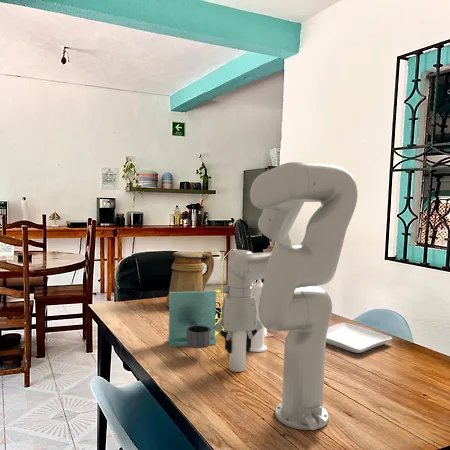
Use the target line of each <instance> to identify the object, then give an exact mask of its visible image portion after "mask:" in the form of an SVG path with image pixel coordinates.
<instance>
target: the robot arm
mask: <svg viewBox="0 0 450 450" xmlns="http://www.w3.org/2000/svg"><path fill="white" fill-rule="evenodd" d="M249 198H250V201H251V204H252V205H253V206H254V207H256V209H260V210H262V212H261V215H260V216H259V219H258V221H257V227H258V229H259V231H260V232H261V234H263V236H265V237H266V238H269V239H270V240H272V241H273V242H275V244H274V246H273V248H272V250H271V251H270V252H269V251H268V252H252V251H250V250H246V249H232V250H230V251H229V253H228V254H227V283H226V284H227V285H226V287H223V288H221V289H222V290H221V291H222V293H223V294H225V295H224V298H223V303H222V310H221V318H220V319H219V321H218V322H217V323H216V324H215V327H214V329H215V332H218V334H220V335H221V336H222V337H223V338H224V350H225V351H226V352H227V353H228V355H229V354H230V353H231V345H232V341H231V340H230V337H231V334H232V332H235V331H247V344H246V353H250V352H251V351H250V349H251V339H252V338H253V336H254V335H255V334H256V333H257V332H258V331H259V330H260V329H262V327H263V326H264V329H266V330H268V331H270V332H274V333H278V332H286V331H288V332H287V334H286V337H285V340H284V349H283V351H284V353H283V354H284V355H283V371H282V375H283V376H282V395H281V396H282V397H281V402H280V403H278V404H277V405H276V407H275V410H274V415H275V418H276V419H277V420H278V421H279V422H280V423H281V424H283V425H285V426H287V427H289V428H293V429H296V430H303V431H316V430H318V429H321V428H323V427H325V426H326V425H327V424H328V423H329V412H328V411H327V409H326V408H325V407H323V404H324V403H323V402H324V401H323V400H324V384H325V383H324V382H325V381H324V380H325V367H326V366H325V364H326V363H325V361H326V347H327V346H326V345H327V343H326V337H327V331H328V327H330V323H331V318H332V314H333V313H332V312H333V301H332V299H331V296H330V295H329V293H328V292H327V291H326V290H325V289H324V288H321V287H320V286H323V285H327V284H328V283H330V282H331V281H332V280H333V279H334V277H335V274H336V271H337V268H338V264H339V260H340V256H341V252H342V249H343V245H344V241H345V237H346V233H347V229H348V227H349V225H350V222H351V220H352V218H353V215H354V212H355V209H356V207H357V202H358V187H357V183H356V181H355V177H354V176H353V175H352V174H351V173H350V172H349V170H346V168H344V167H341V166H338V165H334V164H329V163H328V164H327V163H311V162H297V161H295V162H292V161H291V162H290V161H289V162H285V163H282V164H280V165H278V166H275V167H274V168H270V169H267V170H266V171H265V172H262V173H260V174H259V175H257V176H256V178H255V179H254V180H253V182H252V184H251V186H250V189H249ZM306 202H307V203H320V206H319V207H318V208H317V209H316V210H315V212H314V213H313V214H312V215H311V217H310V218H309V220H308V222H307V225H306V229H305V233H304V235H303V236H304V237H303V238H302V239H303V240H302V241H301V242H300V243H297V244H295V243H293V244H292V240H291V238H290V235H289V233H290V231H291V229H292V227H293V225H294V224H295V221H296V219H297V218H298V215H299V214H300V212H301V209H302V208H303V206H304V204H305V203H306ZM259 279H261V280H263V282H262V283H263V286H262V291H261V296H260V302H259V316H260V320H261V323H262V324H263V326H262V325H261V324H260V322H259V321H258V320H257V308H256V300H255V296H253V295H252V289H253V285H254V284H253V283H254V282H253V281H258V280H259ZM222 328H223V329H222Z"/></svg>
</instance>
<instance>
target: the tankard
mask: <svg viewBox="0 0 450 450" xmlns="http://www.w3.org/2000/svg"><path fill="white" fill-rule="evenodd" d="M172 256H174V260H173V262H172V265H171V269H172V273H171V276H170V277H171V279H170V284H169V285H170V286H169V290H168V295H167V296H166V300H165V306H166V307H168V308H169V294H170V292H185V291H205V287H206V285H207V284H208V281H209V280H210V278H211V276H212V274H213V272H214V268H215V259H214V256H213V254H212V251H211V250H207V251H206V250H205V251H202V252H201V251H175V252H173V253H172ZM204 264H205V265H206V270H205V271H204V269H205V268H204ZM203 271H204V272H203Z"/></svg>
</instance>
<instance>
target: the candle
mask: <svg viewBox="0 0 450 450" xmlns="http://www.w3.org/2000/svg"><path fill="white" fill-rule="evenodd" d="M262 286H263V282H262V279H259V280H256V282H255V283H254V284H253V289H252V295H253V296H255V300H256V308H257V320H258V321H259V322H260V324H261V325H262V326H263V324H262V323H261V320H260V316H259V302H260V296H261V291H262ZM264 342H265V327H264V326H263V327H262V329H260V330H259V331H258V332H257V333H256V334H255V335H254V336H253V338H252V339H251V349H250V351H249V352H253V353H264V352H266V351H267V350H268V346H267V345H266V344H265V343H264Z"/></svg>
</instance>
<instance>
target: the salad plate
mask: <svg viewBox="0 0 450 450" xmlns="http://www.w3.org/2000/svg"><path fill="white" fill-rule="evenodd" d="M392 340H393V337H391V336H390V335H386V334H384V333H380V332H377V331H374V330H372V329H367V328H365V327H361V326H359V325H354V324H351V323H347V322H341V323H338V324H334V325H331V326H330V325H329V326H328V331H327V337H326V344H328V345H331V346H334V347H337V348H340V349H342V350H346V351H349V352H351V353H356V354H360V353H363V352H366V351H368V350H371V349H374V348H377V347H379V346H382V345H385V344H388V343H389V342H391V341H392Z"/></svg>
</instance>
